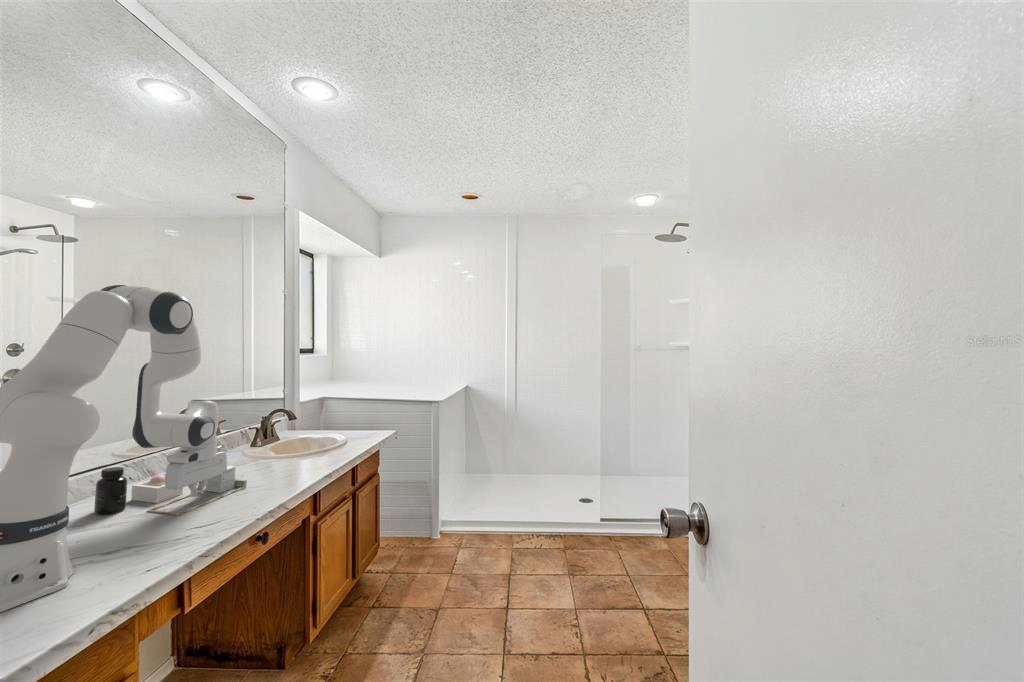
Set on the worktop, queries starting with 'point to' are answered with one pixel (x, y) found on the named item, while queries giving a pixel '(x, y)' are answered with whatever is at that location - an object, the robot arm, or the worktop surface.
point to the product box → (222, 481)
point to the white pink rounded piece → (157, 481)
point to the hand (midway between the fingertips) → (196, 495)
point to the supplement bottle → (111, 491)
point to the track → (238, 483)
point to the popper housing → (153, 492)
